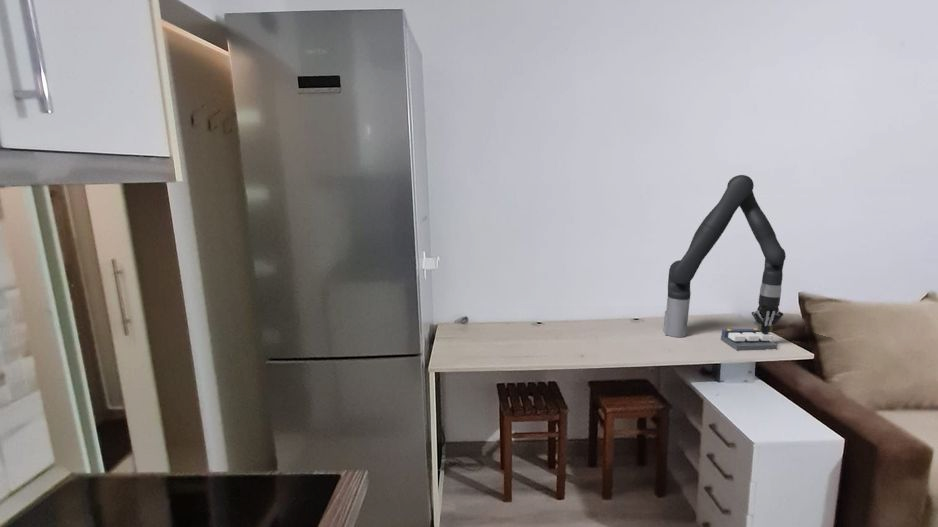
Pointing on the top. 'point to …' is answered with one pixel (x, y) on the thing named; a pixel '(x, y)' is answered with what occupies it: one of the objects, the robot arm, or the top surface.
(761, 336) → the outer key
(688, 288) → the robot arm
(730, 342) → the keypad
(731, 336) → the inner key
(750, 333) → the middle key
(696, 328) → the top surface
